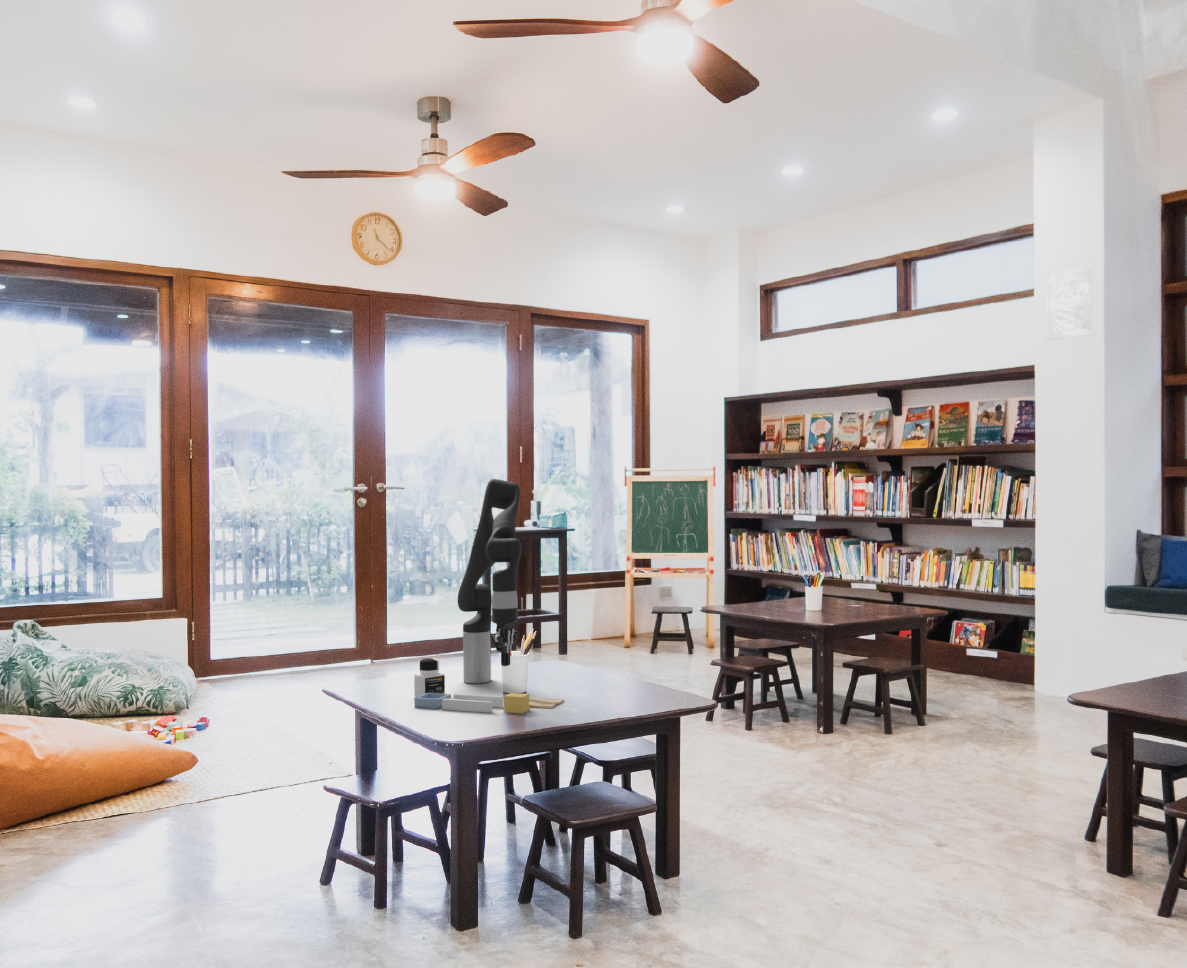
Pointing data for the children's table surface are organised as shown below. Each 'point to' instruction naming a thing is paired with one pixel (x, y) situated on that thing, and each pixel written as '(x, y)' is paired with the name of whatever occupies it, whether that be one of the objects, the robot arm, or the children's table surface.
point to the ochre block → (516, 703)
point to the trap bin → (431, 700)
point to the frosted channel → (472, 703)
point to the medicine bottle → (429, 678)
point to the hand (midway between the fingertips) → (505, 665)
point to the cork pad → (544, 702)
